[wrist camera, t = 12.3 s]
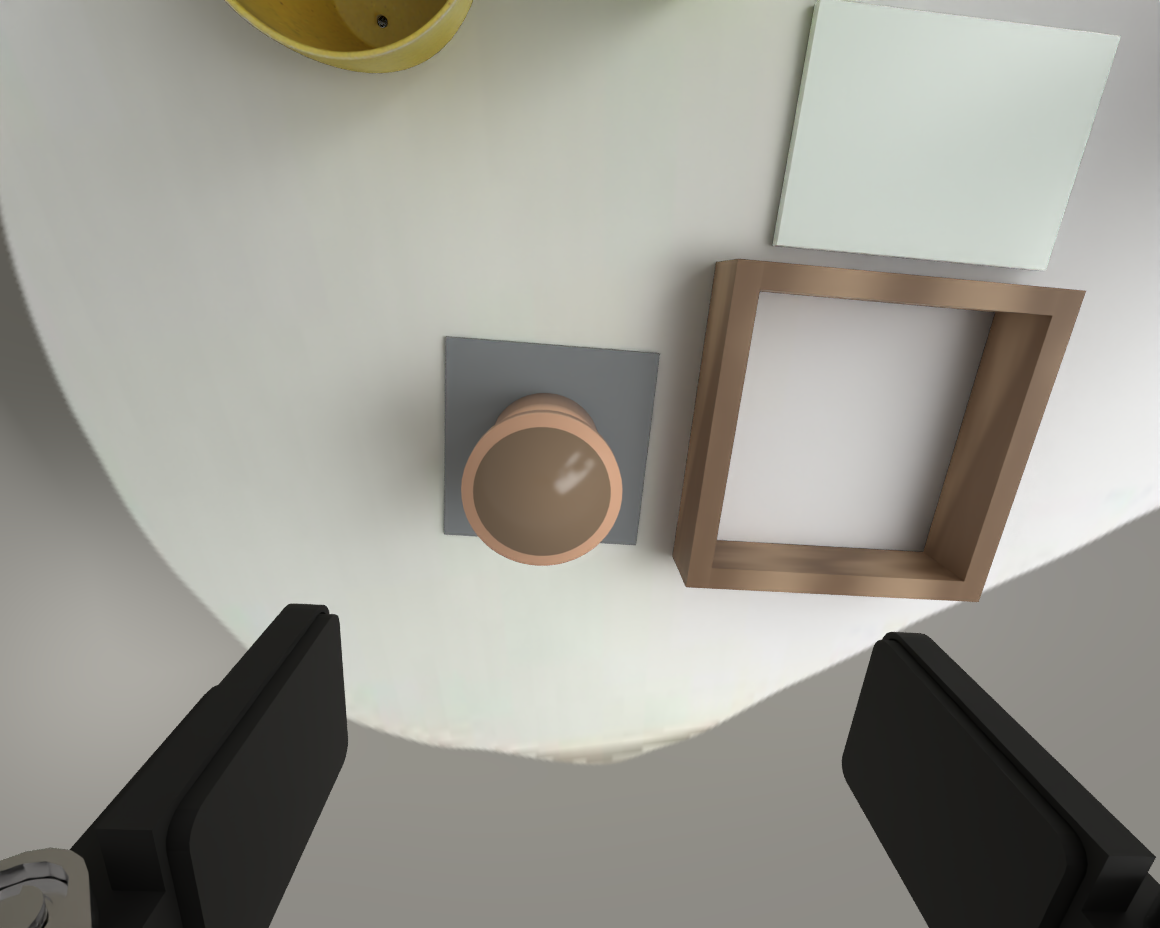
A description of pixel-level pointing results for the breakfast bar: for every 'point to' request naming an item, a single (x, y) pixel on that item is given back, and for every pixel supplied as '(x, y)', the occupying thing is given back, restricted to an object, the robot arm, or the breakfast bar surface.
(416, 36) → the flower pot
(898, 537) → the breakfast bar surface
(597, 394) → the slate mat
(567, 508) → the terracotta pot
